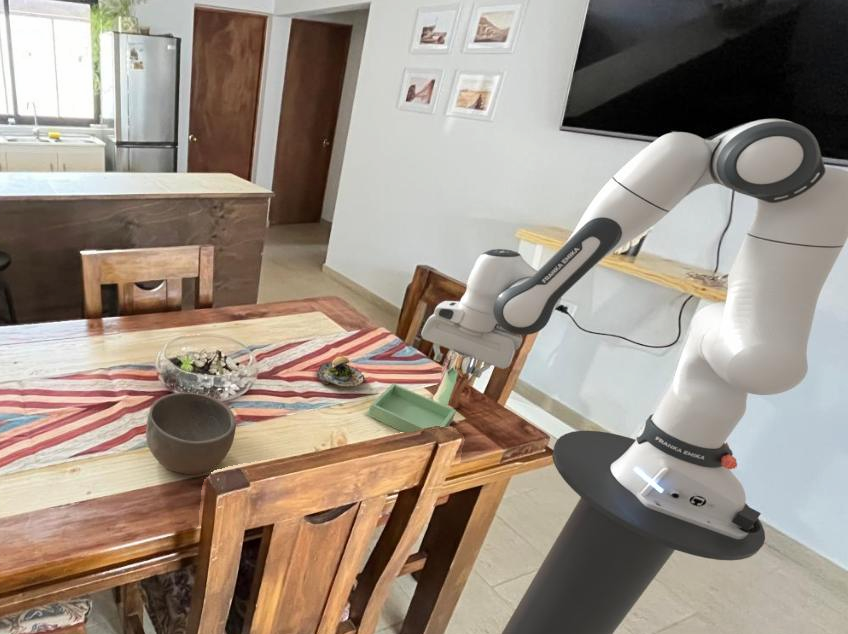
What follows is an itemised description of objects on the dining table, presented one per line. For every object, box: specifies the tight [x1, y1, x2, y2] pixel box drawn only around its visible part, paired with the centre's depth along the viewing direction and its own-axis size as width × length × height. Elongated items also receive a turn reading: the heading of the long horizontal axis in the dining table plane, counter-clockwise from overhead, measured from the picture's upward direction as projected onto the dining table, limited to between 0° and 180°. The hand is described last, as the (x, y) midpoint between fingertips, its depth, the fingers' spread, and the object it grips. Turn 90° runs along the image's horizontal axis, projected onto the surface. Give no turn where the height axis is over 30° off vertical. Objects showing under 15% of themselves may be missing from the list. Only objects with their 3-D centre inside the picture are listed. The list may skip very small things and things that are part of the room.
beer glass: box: [432, 349, 479, 410], centre depth 126 cm, size 7×7×15 cm
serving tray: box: [367, 382, 457, 434], centre depth 121 cm, size 16×14×3 cm
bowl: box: [145, 391, 237, 475], centre depth 100 cm, size 17×18×10 cm
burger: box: [316, 355, 366, 388], centre depth 133 cm, size 12×12×8 cm
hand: (456, 368), depth 125 cm, fingers open, 8 cm apart
